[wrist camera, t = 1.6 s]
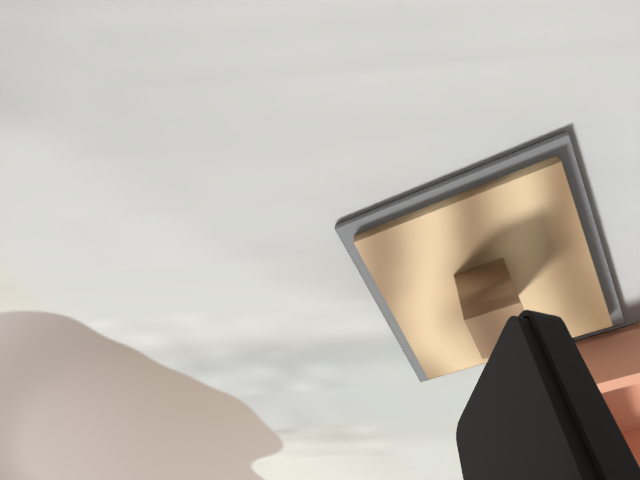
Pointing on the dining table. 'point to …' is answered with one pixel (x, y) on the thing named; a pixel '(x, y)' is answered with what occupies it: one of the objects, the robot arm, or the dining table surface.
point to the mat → (468, 181)
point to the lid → (485, 266)
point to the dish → (618, 377)
